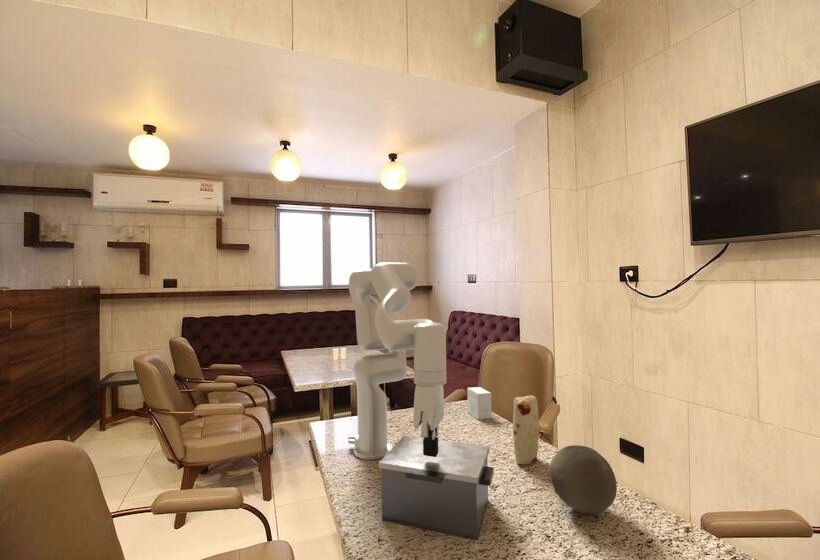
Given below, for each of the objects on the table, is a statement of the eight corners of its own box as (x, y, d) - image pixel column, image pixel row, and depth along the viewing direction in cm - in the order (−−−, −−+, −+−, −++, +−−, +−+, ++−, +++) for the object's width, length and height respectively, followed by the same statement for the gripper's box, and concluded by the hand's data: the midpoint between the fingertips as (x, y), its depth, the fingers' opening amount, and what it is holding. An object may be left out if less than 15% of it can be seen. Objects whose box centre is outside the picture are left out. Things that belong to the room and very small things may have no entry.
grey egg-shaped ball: (562, 489, 100) (561, 432, 101) (622, 509, 91) (621, 445, 92) (542, 515, 89) (541, 450, 90) (609, 539, 80) (607, 468, 81)
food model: (526, 470, 111) (525, 401, 111) (507, 462, 116) (506, 396, 117) (545, 460, 117) (543, 395, 118) (526, 453, 122) (524, 390, 123)
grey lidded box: (373, 518, 89) (372, 466, 89) (398, 484, 104) (397, 440, 104) (487, 542, 80) (486, 484, 80) (497, 501, 95) (496, 453, 95)
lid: (374, 472, 86) (374, 467, 86) (404, 440, 104) (404, 435, 104) (476, 489, 78) (476, 483, 78) (489, 451, 96) (489, 446, 96)
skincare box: (492, 418, 155) (491, 392, 155) (478, 420, 154) (477, 393, 154) (480, 410, 165) (480, 386, 166) (467, 412, 164) (466, 387, 164)
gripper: (424, 368, 97) (425, 440, 97) (403, 382, 83) (404, 467, 83) (453, 370, 95) (453, 444, 95) (436, 385, 81) (437, 472, 81)
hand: (430, 454), depth 89 cm, fingers closed
